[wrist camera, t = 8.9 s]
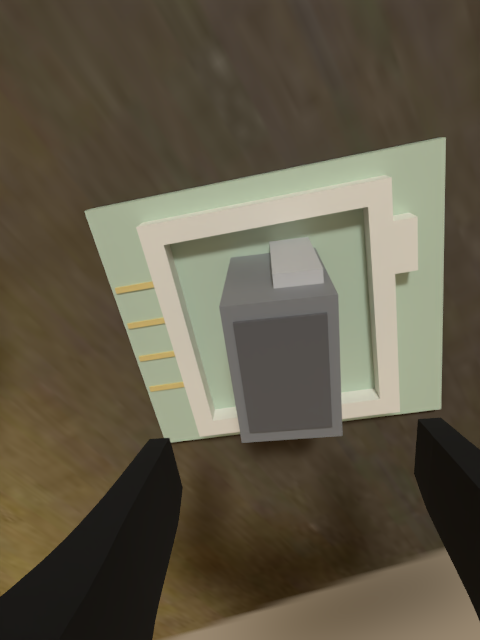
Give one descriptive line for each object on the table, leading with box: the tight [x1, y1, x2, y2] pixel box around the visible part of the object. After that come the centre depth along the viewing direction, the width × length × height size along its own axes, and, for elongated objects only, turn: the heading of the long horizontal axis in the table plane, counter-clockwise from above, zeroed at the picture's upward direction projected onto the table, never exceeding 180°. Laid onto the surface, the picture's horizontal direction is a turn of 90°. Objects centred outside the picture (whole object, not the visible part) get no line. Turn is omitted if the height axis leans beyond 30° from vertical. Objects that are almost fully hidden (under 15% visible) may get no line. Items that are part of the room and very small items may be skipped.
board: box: [84, 137, 446, 443], centre depth 20 cm, size 16×14×2 cm
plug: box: [219, 237, 343, 443], centre depth 17 cm, size 4×6×6 cm, turn 7°
